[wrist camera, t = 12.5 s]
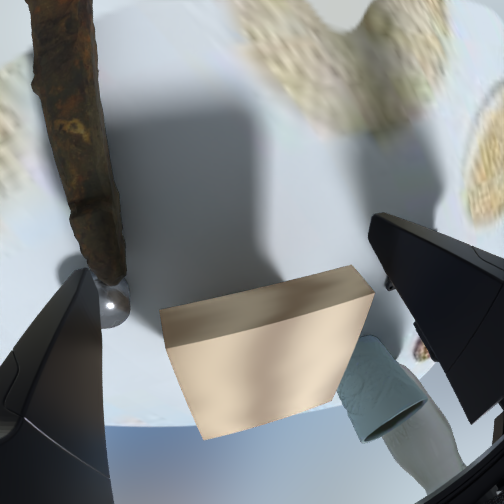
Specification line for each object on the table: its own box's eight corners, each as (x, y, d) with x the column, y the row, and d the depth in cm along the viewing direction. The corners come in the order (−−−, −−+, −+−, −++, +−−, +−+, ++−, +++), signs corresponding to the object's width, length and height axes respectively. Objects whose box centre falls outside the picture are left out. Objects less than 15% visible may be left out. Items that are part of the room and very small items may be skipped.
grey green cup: (321, 351, 37) (367, 431, 28) (388, 319, 39) (439, 387, 29) (321, 384, 44) (357, 450, 35) (378, 356, 45) (417, 415, 36)
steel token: (103, 256, 20) (101, 274, 19) (140, 292, 23) (142, 310, 22) (63, 286, 21) (60, 305, 19) (101, 317, 24) (101, 336, 22)
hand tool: (37, -13, 9) (7, -27, 5) (105, -31, 10) (93, -55, 6) (84, 263, 20) (77, 309, 17) (136, 253, 21) (138, 299, 18)
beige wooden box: (301, 207, 23) (375, 292, 16) (289, 322, 31) (331, 400, 24) (150, 234, 21) (165, 348, 13) (180, 349, 28) (203, 440, 21)
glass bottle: (378, 384, 54) (446, 496, 33) (342, 391, 49) (415, 522, 28) (410, 350, 49) (490, 469, 28) (377, 355, 44) (466, 497, 23)
